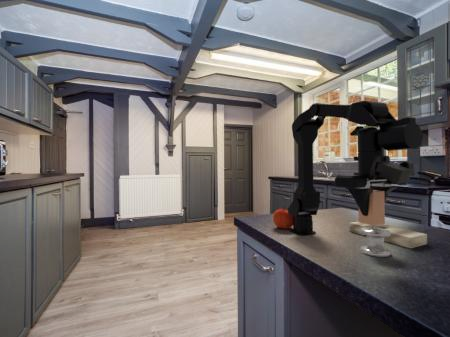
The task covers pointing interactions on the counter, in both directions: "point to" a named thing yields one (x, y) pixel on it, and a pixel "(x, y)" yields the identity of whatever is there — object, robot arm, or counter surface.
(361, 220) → the tab block
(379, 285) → the counter surface
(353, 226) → the notched board
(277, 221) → the apple
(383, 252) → the bobbin
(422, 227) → the counter surface
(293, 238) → the counter surface
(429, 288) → the counter surface
